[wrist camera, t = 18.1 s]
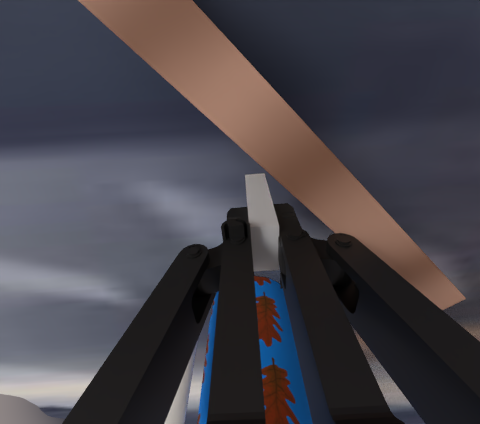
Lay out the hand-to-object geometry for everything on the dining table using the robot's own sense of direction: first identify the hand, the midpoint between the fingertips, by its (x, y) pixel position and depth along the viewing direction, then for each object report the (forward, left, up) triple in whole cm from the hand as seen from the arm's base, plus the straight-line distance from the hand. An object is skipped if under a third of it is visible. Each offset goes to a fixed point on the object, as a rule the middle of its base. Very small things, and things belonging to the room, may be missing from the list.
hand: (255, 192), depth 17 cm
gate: (-5, +1, -5) cm, 7 cm away
